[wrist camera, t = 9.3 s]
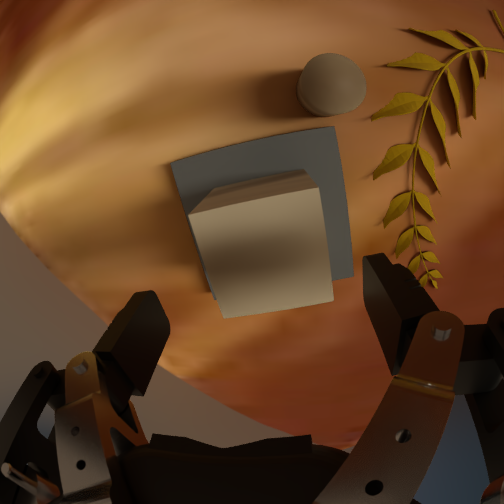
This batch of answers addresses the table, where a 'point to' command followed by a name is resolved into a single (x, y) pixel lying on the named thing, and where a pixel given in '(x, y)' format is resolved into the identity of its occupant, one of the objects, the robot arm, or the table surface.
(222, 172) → the slate coaster
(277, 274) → the metal cube
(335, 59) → the cork cylinder
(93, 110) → the table surface
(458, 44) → the yellow leafy sprig
